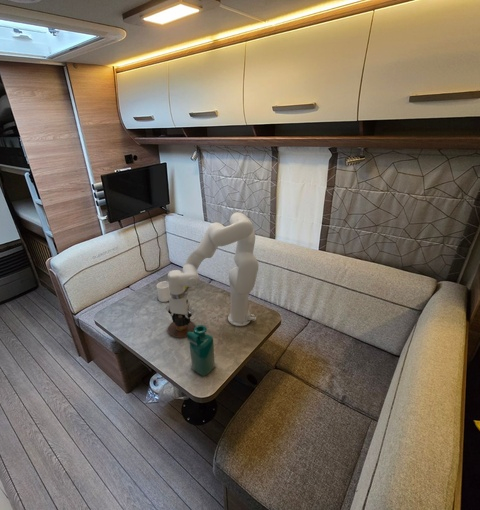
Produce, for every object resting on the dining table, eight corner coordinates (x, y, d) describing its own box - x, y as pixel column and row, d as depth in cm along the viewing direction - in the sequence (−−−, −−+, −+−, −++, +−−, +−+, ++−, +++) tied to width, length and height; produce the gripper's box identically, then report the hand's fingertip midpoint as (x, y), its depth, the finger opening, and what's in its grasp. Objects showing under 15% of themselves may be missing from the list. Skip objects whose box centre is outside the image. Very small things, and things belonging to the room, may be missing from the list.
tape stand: (198, 323, 153) (197, 310, 150) (188, 340, 141) (187, 327, 138) (175, 319, 158) (173, 306, 154) (163, 335, 146) (161, 322, 142)
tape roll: (190, 319, 150) (189, 313, 148) (184, 327, 144) (184, 321, 142) (178, 317, 152) (177, 311, 150) (172, 325, 146) (171, 319, 144)
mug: (166, 291, 185) (164, 277, 181) (177, 293, 182) (175, 279, 177) (155, 300, 175) (153, 286, 171) (166, 303, 172) (164, 289, 168)
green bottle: (202, 357, 130) (199, 319, 121) (216, 365, 125) (214, 326, 116) (188, 370, 124) (183, 331, 114) (202, 379, 119) (198, 339, 109)
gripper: (196, 291, 141) (199, 320, 148) (165, 287, 146) (169, 315, 154) (190, 300, 134) (194, 329, 142) (158, 295, 140) (163, 324, 147)
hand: (181, 322), depth 148 cm, fingers closed on tape roll, 7 cm apart
